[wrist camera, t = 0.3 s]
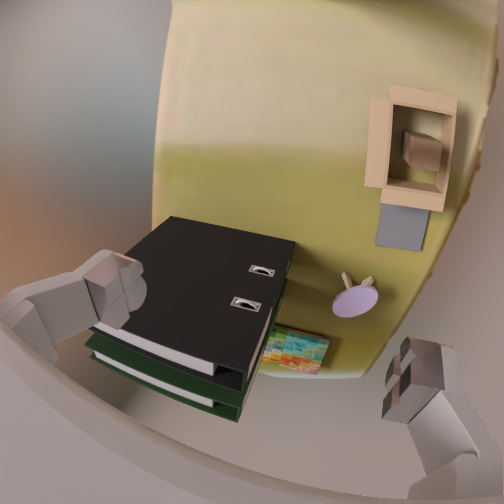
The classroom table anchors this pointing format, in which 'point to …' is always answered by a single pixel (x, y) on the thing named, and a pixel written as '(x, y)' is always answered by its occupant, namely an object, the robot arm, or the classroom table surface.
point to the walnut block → (421, 151)
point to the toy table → (355, 298)
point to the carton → (381, 143)
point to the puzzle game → (295, 349)
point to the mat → (401, 227)
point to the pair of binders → (199, 314)
